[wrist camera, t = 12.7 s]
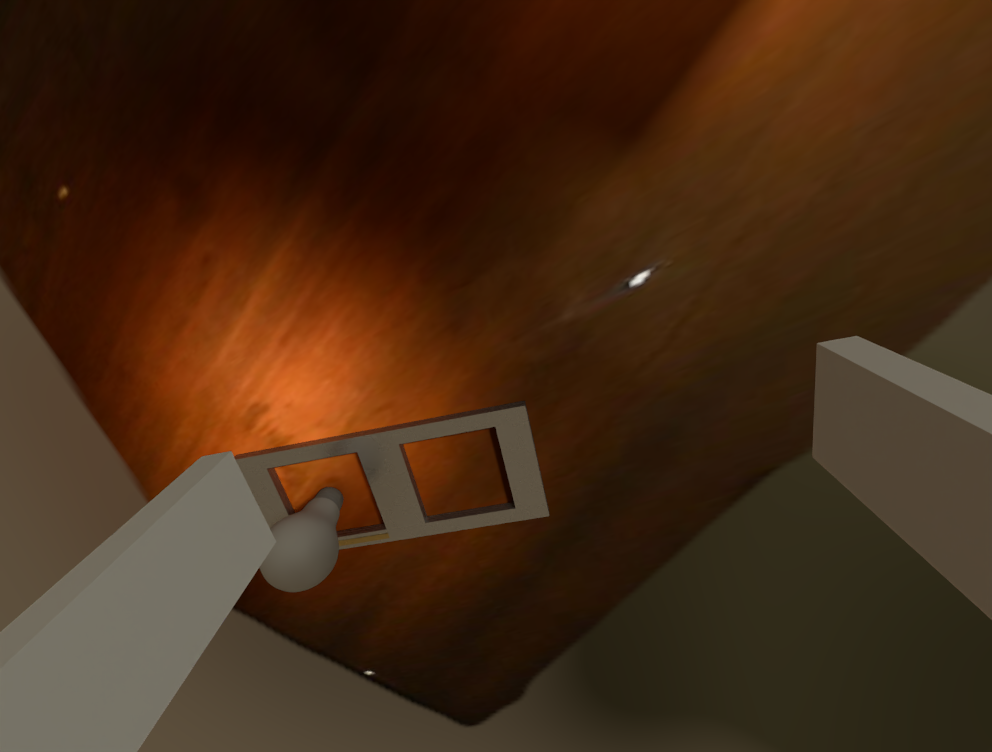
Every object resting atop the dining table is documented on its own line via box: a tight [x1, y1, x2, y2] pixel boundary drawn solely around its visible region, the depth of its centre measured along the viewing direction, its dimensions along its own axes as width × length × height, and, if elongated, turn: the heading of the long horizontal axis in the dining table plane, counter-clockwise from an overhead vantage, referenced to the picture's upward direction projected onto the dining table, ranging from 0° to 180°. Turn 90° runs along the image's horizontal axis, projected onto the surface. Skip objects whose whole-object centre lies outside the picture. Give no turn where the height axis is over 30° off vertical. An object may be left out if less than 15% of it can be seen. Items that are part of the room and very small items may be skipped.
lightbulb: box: [260, 487, 344, 592], centre depth 40 cm, size 6×6×11 cm
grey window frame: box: [234, 401, 549, 550], centre depth 44 cm, size 12×28×1 cm, turn 103°
